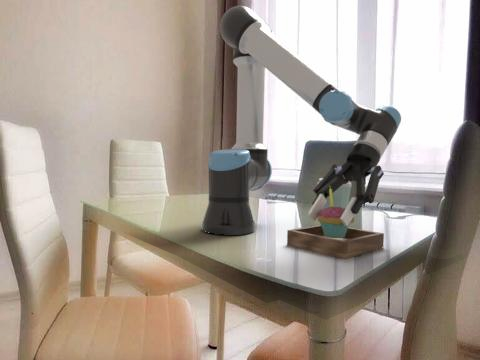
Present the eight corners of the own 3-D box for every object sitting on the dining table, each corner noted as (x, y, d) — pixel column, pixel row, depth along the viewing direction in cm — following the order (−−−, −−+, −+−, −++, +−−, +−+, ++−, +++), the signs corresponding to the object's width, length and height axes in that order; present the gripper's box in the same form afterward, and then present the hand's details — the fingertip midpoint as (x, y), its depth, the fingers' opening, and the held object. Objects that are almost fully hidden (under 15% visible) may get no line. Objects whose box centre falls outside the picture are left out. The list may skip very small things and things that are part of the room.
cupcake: (309, 234, 86) (310, 185, 85) (332, 231, 91) (334, 184, 90) (337, 241, 79) (339, 188, 78) (361, 237, 84) (363, 186, 83)
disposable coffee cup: (356, 226, 113) (358, 178, 112) (339, 230, 105) (340, 179, 105) (327, 221, 120) (328, 177, 120) (309, 225, 113) (310, 178, 112)
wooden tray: (287, 244, 86) (287, 230, 86) (327, 236, 96) (327, 223, 96) (343, 259, 74) (344, 242, 74) (383, 248, 84) (383, 233, 84)
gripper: (412, 163, 86) (374, 237, 76) (337, 162, 102) (299, 223, 93) (402, 140, 82) (361, 215, 73) (326, 143, 98) (285, 204, 89)
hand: (326, 219), depth 83 cm, fingers closed on cupcake, 8 cm apart
